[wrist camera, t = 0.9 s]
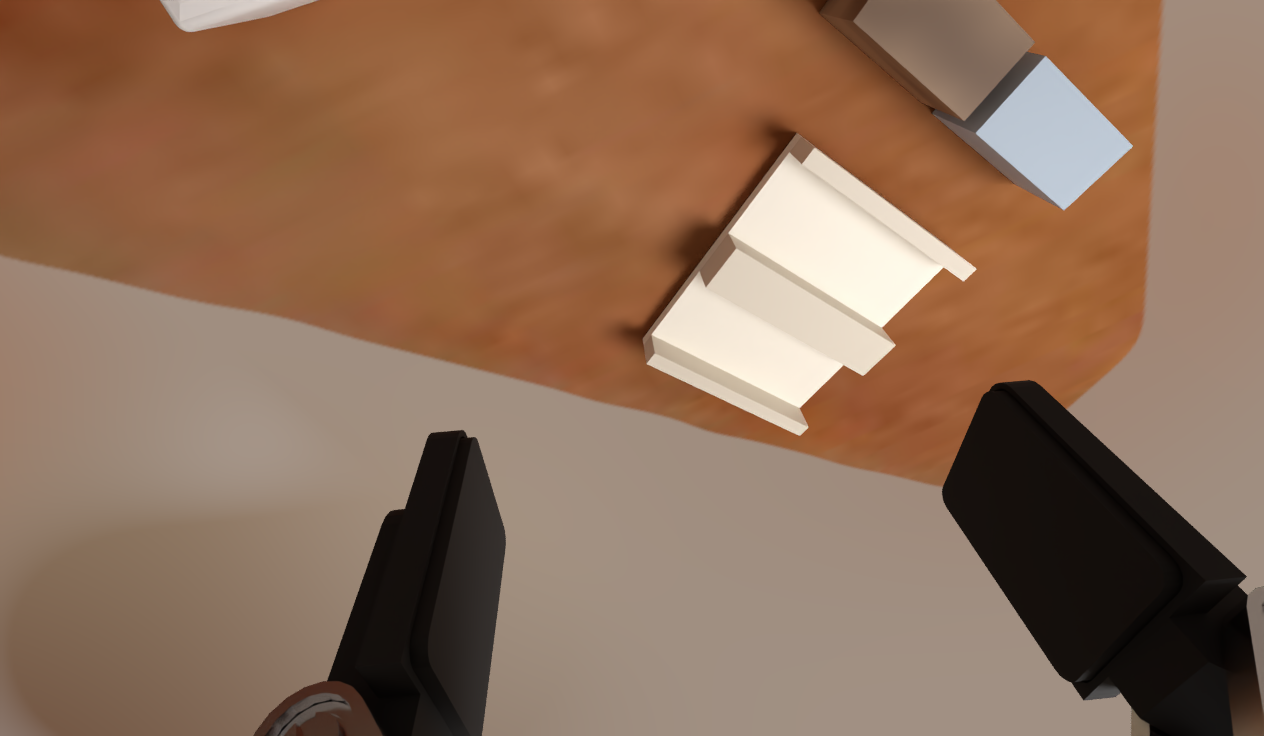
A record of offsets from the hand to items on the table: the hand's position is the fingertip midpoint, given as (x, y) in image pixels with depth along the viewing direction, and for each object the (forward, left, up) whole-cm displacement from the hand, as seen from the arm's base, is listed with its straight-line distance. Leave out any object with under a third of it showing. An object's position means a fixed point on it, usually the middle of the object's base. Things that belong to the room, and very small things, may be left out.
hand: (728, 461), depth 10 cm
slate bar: (-12, +18, -25) cm, 33 cm away
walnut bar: (-12, +9, -25) cm, 29 cm away
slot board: (+3, +15, -25) cm, 30 cm away
